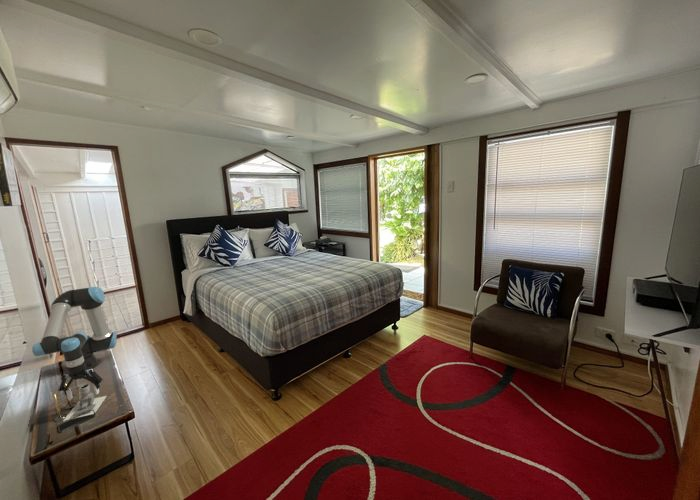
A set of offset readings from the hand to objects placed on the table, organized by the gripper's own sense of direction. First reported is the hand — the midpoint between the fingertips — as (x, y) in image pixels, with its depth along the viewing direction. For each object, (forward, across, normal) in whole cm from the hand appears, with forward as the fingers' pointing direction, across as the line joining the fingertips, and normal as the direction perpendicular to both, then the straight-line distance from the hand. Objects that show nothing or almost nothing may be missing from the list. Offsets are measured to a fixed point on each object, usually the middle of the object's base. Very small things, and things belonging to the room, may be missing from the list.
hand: (84, 396), depth 167 cm
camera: (+8, 0, 0) cm, 8 cm away
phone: (+8, 0, -11) cm, 14 cm away
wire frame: (+8, -10, 0) cm, 13 cm away
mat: (+8, 0, -1) cm, 8 cm away
